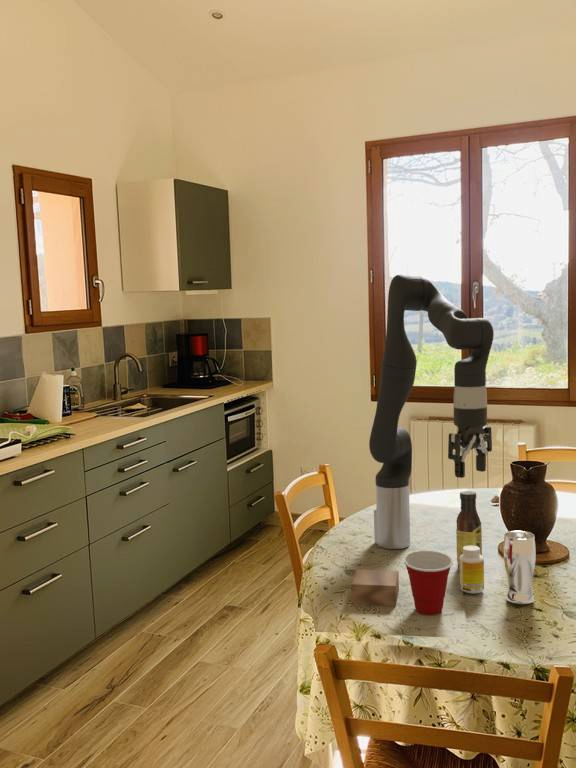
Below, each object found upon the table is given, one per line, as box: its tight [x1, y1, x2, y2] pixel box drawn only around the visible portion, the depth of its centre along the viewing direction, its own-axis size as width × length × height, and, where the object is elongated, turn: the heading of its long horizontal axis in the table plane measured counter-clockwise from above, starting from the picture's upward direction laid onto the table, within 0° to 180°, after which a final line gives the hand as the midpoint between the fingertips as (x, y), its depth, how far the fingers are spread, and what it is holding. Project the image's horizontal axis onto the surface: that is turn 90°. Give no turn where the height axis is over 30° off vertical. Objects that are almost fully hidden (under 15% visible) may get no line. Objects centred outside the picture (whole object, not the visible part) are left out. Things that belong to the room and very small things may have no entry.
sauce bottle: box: [455, 490, 483, 571], centre depth 191 cm, size 6×6×20 cm
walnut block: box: [351, 568, 400, 607], centre depth 175 cm, size 10×10×5 cm
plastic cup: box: [402, 549, 454, 616], centre depth 166 cm, size 11×11×12 cm
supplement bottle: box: [459, 546, 485, 594], centre depth 177 cm, size 6×6×10 cm
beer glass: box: [503, 530, 537, 605], centre depth 170 cm, size 7×7×15 cm
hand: (470, 474), depth 175 cm, fingers open, 8 cm apart
